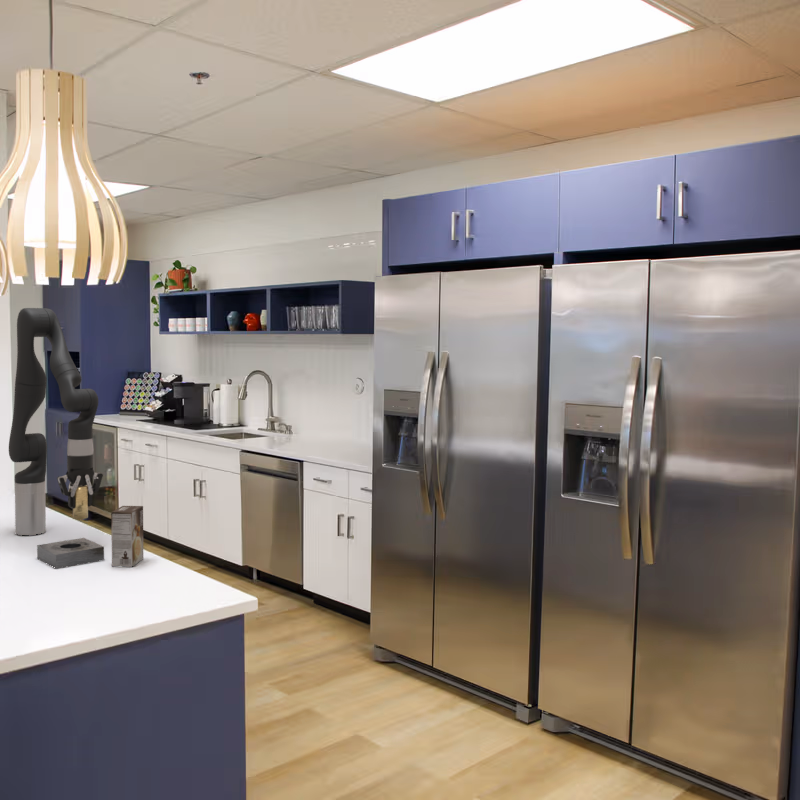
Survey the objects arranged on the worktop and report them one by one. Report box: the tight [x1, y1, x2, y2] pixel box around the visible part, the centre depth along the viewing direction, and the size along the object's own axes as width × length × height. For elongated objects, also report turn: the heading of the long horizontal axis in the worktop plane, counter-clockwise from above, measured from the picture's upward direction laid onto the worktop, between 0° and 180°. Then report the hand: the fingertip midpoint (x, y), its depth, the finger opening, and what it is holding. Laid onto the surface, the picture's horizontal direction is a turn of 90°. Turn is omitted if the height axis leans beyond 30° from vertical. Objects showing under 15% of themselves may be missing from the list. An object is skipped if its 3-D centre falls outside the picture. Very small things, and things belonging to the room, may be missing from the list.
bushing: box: [72, 485, 89, 520], centre depth 249 cm, size 4×4×10 cm
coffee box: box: [110, 505, 144, 568], centre depth 233 cm, size 9×6×16 cm
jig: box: [36, 537, 105, 569], centre depth 235 cm, size 14×14×4 cm
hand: (80, 506), depth 249 cm, fingers closed on bushing, 4 cm apart
